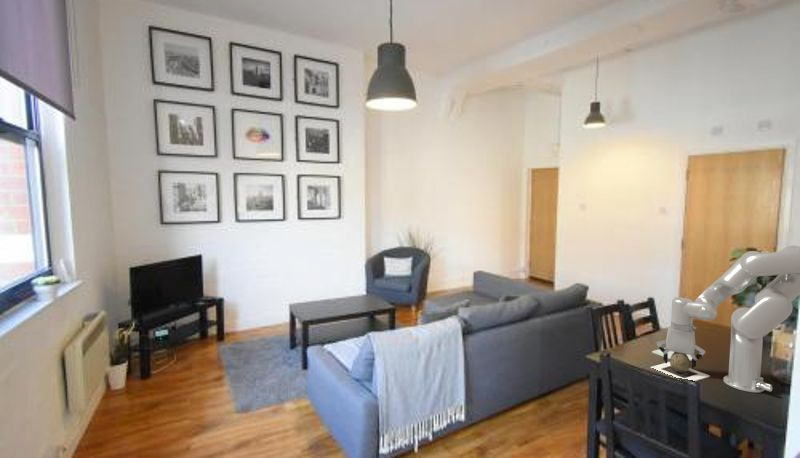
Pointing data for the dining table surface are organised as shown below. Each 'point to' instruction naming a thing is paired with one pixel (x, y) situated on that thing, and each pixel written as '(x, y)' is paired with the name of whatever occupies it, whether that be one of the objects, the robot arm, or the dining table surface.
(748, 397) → the dining table surface
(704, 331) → the dining table surface
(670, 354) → the sage mat
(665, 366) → the white square frame
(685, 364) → the decorative egg
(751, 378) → the robot arm
